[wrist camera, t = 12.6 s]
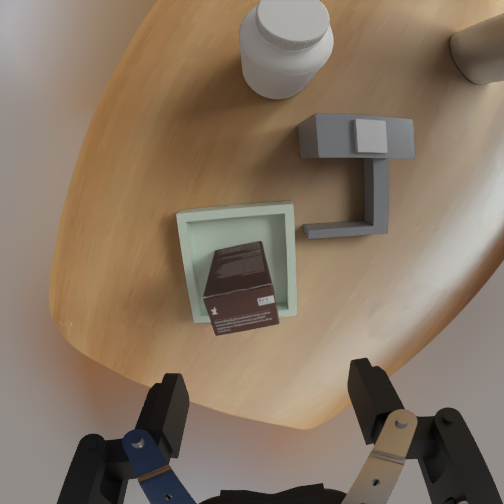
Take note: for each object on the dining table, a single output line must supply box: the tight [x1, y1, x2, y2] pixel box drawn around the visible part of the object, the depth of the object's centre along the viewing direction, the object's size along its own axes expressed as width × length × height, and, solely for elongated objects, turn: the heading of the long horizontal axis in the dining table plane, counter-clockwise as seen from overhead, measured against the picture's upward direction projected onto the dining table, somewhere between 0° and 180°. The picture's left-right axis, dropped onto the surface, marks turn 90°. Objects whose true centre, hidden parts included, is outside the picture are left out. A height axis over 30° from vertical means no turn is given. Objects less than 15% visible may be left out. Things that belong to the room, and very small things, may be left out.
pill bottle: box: [239, 0, 333, 99], centre depth 22 cm, size 8×8×15 cm
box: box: [203, 241, 279, 336], centre depth 30 cm, size 6×4×12 cm
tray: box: [176, 201, 297, 323], centre depth 35 cm, size 13×14×3 cm
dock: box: [298, 113, 415, 239], centre depth 28 cm, size 10×13×10 cm
